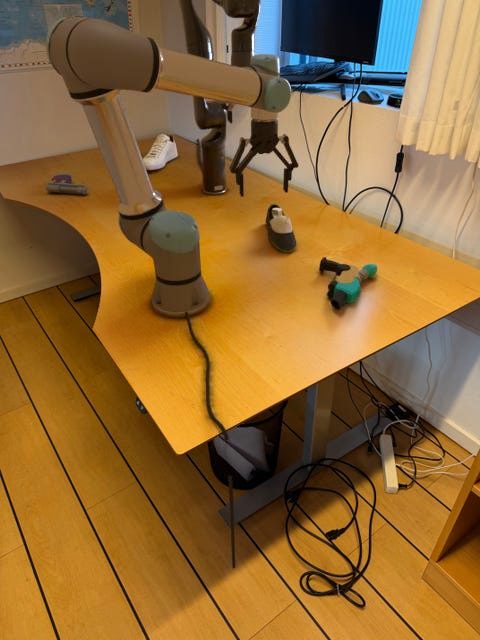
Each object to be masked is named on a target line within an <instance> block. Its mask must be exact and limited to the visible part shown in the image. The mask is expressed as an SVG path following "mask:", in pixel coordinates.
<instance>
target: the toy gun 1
mask: <svg viewBox="0 0 480 640" xmlns="http://www.w3.org/2000/svg"><path fill="white" fill-rule="evenodd" d="M72 182H73V176H72V174H70V173H58V174H56V175H53V177H52V178H51V182H47V185H46V188H45V190H46V191H47V192H49V193H57V194H74V195H87V192H88V191H89V187H88V185H84V184H78V183H76V184H75V183H72Z"/></svg>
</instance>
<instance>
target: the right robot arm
mask: <svg viewBox="0 0 480 640" xmlns="http://www.w3.org/2000/svg"><path fill="white" fill-rule="evenodd" d="M177 1H178V6H179V10H180V15H181V21H182V27H183V33H184V34H183V35H184V41H185V49H186V53H187V54H191V55H195V56H199V57H203V58H206V59H210V60H214V61H215V53H214V45H213V38H212V35H211V32H210V31H209V29H208V27H207V25H206V24H205V23H204V21H203V20H202V18H201V17H200V16H199V14H198V12H197V10H196V7H195V4H194V0H177ZM211 1H212V2H213V3H214V4H215V5H216V6H218V7H221V8H222V10H223V11H224V13H225V14H226V16H227V17H228V18H232V19H243V21H242V23H241V25H240V26H238V27H235V28H233V29H232V30H231V34H230V40H231V42H230V43H231V46H230V47H231V56H230V65H233V66H237V67H247V66H250V63H251V57H252V56H254V55H256V54H255V35H256V30H257V26H258V21H259V17H260V13H261V5H262V4H261V3H262V2H261V0H211ZM192 104H193V106H192V107H193V116H194V121H195V124H196V126H197V128H198V129H199V130H200V131H201V130H202V131H205V130H206V131H207V130H210V132H208V133H207V134H206V135H204V136H203V137H202V138H201V139H199V138H196V142H197V146H198V147H197V148H198V149H197V151H198V152H197V154H198V160H199V164H200V166H201V172H202V173H201V176H202V177H201V179H202V191H203V193H204V194H207V195H214V196H215V195H223V194H224V193H226V192H227V191H228V188H227V161H226V160H227V159H226V141H227V122H229V124H233V111H232V110H233V108H234V107H235V106H236V105H237V104H233V103H229V104H227V103H223V104H221V103H218V102H217V101H216V100H208V101H207V98H201V97H196V96H192Z"/></svg>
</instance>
